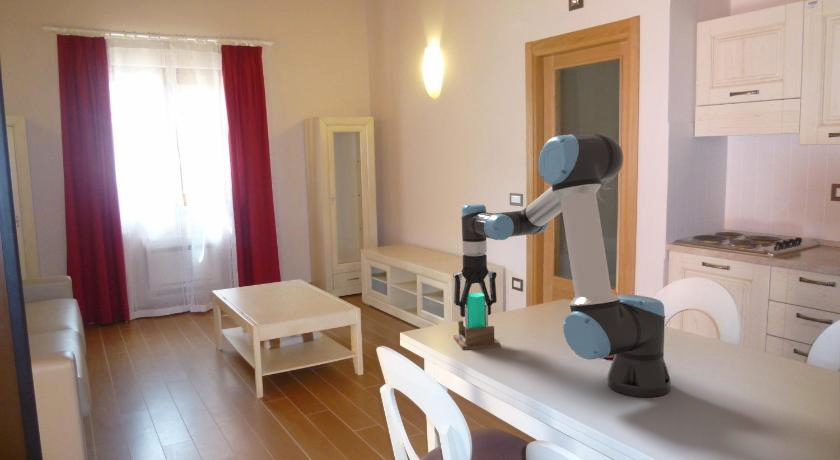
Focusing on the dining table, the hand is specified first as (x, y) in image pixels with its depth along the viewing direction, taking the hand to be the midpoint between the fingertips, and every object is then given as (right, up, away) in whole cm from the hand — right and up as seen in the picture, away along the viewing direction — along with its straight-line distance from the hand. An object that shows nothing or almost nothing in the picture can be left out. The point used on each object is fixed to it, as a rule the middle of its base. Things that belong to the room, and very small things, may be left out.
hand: (475, 325), depth 197 cm
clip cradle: (0, -5, +1) cm, 5 cm away
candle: (0, -1, 0) cm, 1 cm away
